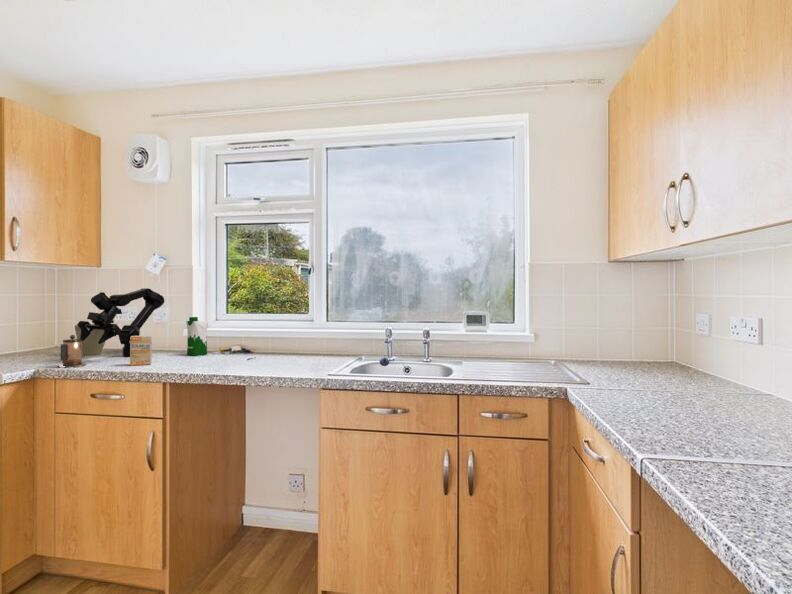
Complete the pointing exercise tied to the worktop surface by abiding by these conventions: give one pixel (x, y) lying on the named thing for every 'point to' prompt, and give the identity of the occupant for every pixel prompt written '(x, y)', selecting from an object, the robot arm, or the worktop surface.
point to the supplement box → (140, 350)
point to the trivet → (77, 365)
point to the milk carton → (197, 337)
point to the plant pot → (91, 341)
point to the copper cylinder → (71, 351)
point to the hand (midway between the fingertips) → (89, 342)
